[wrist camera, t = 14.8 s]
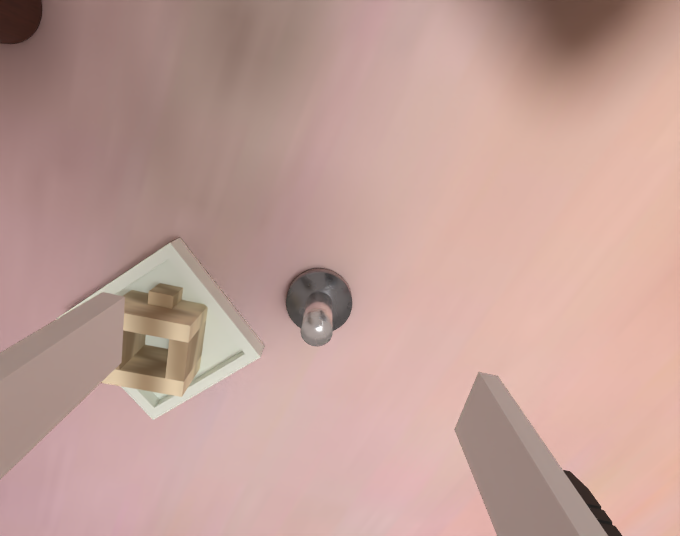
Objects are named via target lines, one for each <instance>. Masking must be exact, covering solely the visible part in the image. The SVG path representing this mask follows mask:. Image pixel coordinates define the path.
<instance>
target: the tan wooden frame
mask: <svg viewBox="0 0 680 536" xmlns="http://www.w3.org/2000/svg"><path fill="white" fill-rule="evenodd" d="M182 293H183V288H182V287H177V286H172V285H167V284H162V283H159V284H158V285H157V286H155V287H154V288H152V289H151V290H150V291H149V293H145V292H140V291H135V290H131V291H129V292H128V293H126V294H125V295H123V296H124V297H125V304H124V324H123V343H122V362H121V364H120V365H119V366H118V367H117V368H116V369H114V370H113V371H112V372H111V373H110V374H109V375H108V376H107V377H106V378H105V379H104V380H103V381H102V382H101V383H105V384H111V385H117V386H122V387H128V388H134V389H139V390H145V391H151V392H157V393H162V394H168V395H174V396H179V397H182V396H183V395H184V393H185V391H186V390H187V388H188V387H189V385H190V383H191V382H192V380H193V379H194V377H195V376H196V374H197V372H198V371H199V369H200V363H201V355H202V348H203V340H204V333H205V325H206V318H207V311H208V308H207V306H206V305H205V304H200V303H195V302H190V301H185V300H182ZM146 335H150V336H156V337H161V338H166V339H169V347H168V349H166V348H161V347H155V346H150V345H145V339H146Z"/></svg>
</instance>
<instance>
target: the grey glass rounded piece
mask: <svg viewBox="0 0 680 536" xmlns="http://www.w3.org/2000/svg"><path fill="white" fill-rule="evenodd" d="M286 307H287V311H288V314H289V316H290V318H291V319H292V321H293V322H294V323H295V324H296V325H297V326H298V327H300V328H301V336H302V338H303V340H304V341H305V342H306V343H307V344H309V345H312V346H322V345H324V344H326V343H327V342H329V340H330V339H331V337H332V331H334V330H336V329H337V328H339V327H340V326H342V325H343V324H344V323H345V322H346V320H347V319H348V317H349V315H350V313H351V309H352V297H351V291H350V288H349V286H348V284H347V282H346V281H345V280H344V279H343V278H342V277H341V276H340V275H339V274H337V273H336V272H334V271H332V270H328V269H323V268H315V269H310V270H307V271H305V272H303V273H301V274H300V275H299V276H297V277H296V278H295V280H294V281H293V282H292V284H291V286H290V288H289V291H288V294H287V299H286Z"/></svg>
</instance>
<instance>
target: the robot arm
mask: <svg viewBox="0 0 680 536" xmlns="http://www.w3.org/2000/svg"><path fill="white" fill-rule="evenodd" d="M124 304H125V297H124V296H120V295H115V294H110V293H105V292H102V293H100V294H98V295H97V296H95V297H93V298H92V299H90V300H88V301H87V302H85V303H83V304H81V305H80V306H78V307H76V308H75V309H73V310H71V311H70V312H68V313H66V314H65V315H63V316H61V317H60V318H58V319H56V320H54V321H53V322H51V323H49V324H48V325H46V326H44V327H43V328H41V329H39V330H38V331H36V332H34V333H33V334H31V335H29V336H27V337H26V338H24V339H22V340H21V341H19V342H17V343H16V344H14V345H12V346H11V347H9V348H7V349H6V350H4V351H2V352H0V479H1V478H2V477H3V476H4V475H6V474H7V473H8V472H9V471H10V470H11V469H12V468H13V467H14V466H15V465H16V464H17V463H18V462H19V461H20V460H21V459H22V458H23V457H24V456H25V455H26V454H27V453H28V452H29V451H30V450H31V449H33V448H34V447H35V446H36V445H37V444H38V443H39V442H40V441H41V440H42V439H43V438H44V437H45V436H46V435H47V434H48V433H49V432H50V431H51V430H52V429H53V428H54V427H55V426H56V425H57V424H58V423H59V422H61V421H62V420H63V419H64V418H65V417H66V416H67V415H68V414H69V413H70V412H71V411H72V410H73V409H74V408H75V407H76V406H77V405H78V404H79V403H80V402H81V401H82V400H83V399H84V398H85V397H86V396H87V395H89V394H90V393H91V392H92V391H93V390H94V389H95V388H96V387H97V386H98V385H99V384H100V383H101V382H102V381H103V380H104V379H105V378H106V377H107V376H108V375H109V374H110V373H111V372H112V371H113V370H114V369H116V368H117V367H118V366H119V365H120V364H121V362H122V343H123V324H124ZM455 432H456V434H457V437H458V439H459V442H460V444H461V447H462V449H463V452H464V454H465V457H466V459H467V462H468V464H469V467H470V469H471V472H472V474H473V477H474V479H475V482H476V484H477V487H478V489H479V491H480V494H481V496H482V499H483V501H484V504H485V506H486V509H487V511H488V514H489V516H490V519H491V521H492V524H493V526H494V529H495V531H496V534H497V536H622V535H621V533H620V532H619V531H618V529H617V528H616V527H615V526H613V525H612V521H611V520H610V518H609V517H608V516H607V514H606V513H605V511H604V510H601V506H600V504H599V503H598V502H597V500H596V499H595V498H594V496H593V495H592V493H591V492H590V491H589V489H588V488H587V487H586V486H585V485H584V484H583V483H582V482H581V481H580V480H578V479H577V478H576V477H575V476H574V475H573V474H572V473H571V472H570V471H566V470H562V468H561V467H560V465H559V464H558V462H557V461H556V460H555V458H554V457H553V455H552V454H551V452H550V451H549V449H548V448H547V446H546V445H545V444H544V442H543V441H542V439H541V438H540V436H539V435H538V433H537V432H536V431H535V429H534V428H533V426H532V425H531V423H530V422H529V420H528V419H527V417H526V416H525V415H524V413H523V412H522V410H521V409H520V407H519V406H518V404H517V403H516V402H515V400H514V399H513V397H512V396H511V394H510V393H509V391H508V390H507V388H506V387H505V386H504V384H503V383H502V381H501V380H500V378H499V377H498V376H496V375H491V374H487V373H482V372H478V374H477V377H476V379H475V382H474V384H473V386H472V389H471V391H470V394H469V396H468V398H467V401H466V403H465V405H464V408H463V410H462V413H461V415H460V417H459V420H458V422H457V425H456V427H455Z"/></svg>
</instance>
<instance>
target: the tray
mask: <svg viewBox="0 0 680 536" xmlns="http://www.w3.org/2000/svg"><path fill="white" fill-rule="evenodd" d="M159 283H162V284H167V285H172V286H177V287H182V288H183V293H182V300H185V301H190V302H195V303H200V304H205V305H206V306H207V308H208V311H207V318H206V325H205V333H204V340H203V348H202V355H201V363H200V369H199V371H198V372H197V374H196V376H195V377H194V379H193V380H192V382H191V383H190V385H189V387H188V388H187V390H186V391H185V393H184V395H183V396H182V397H179V396H174V395H168V394H162V393H157V392H151V391H145V390H139V389H134V388H128V387H122V386H121V387H122V388H123V389H124V390H125V391H126V392H127V393H128V394H129V395H130V396H131V397H132V399H133V400H134V401H135V402H136V403H137V404H138V405H139V406H140V407H141V408H142V409H143V410H144V411H145V412H146V413H147V414H148V415H149V416H150V417H151V418H152V419H153V420H154V419H156V418H158V417H159V416H161V415H163V414H164V413H166V412H168V411H169V410H171V409H173V408H175V407H176V406H178V405H180V404H181V403H183V402H185V401H187V400H188V399H190V398H192V397H193V396H195V395H197V394H198V393H200V392H202V391H204V390H205V389H207V388H209V387H210V386H212V385H214V384H216V383H217V382H219V381H221V380H222V379H224V378H226V377H227V376H229V375H231V374H233V373H234V372H236V371H238V370H239V369H241V368H243V367H245V366H246V365H248V364H250V363H251V362H253V361H255V360H256V359H258V358H260V357H261V354H262V352H263V349H264V345H263V343H262V342H261V341H260V340H259V338H258V337H257V336H256V334H255V333H254V332H253V331H252V329H251V328H250V327H249V325H248V324H247V323H246V322H245V320H244V319H243V318H242V316H241V315H240V314H239V313H238V311H237V310H236V309H235V307H234V306H233V305H232V304H231V302H230V301H229V300H228V298H227V297H226V296H225V295H224V293H223V292H222V291H221V289H220V288H219V287H218V286H217V284H216V283H215V282H214V280H213V279H212V278H211V277H210V275H209V274H208V273H207V271H206V270H205V269H204V268H203V266H202V265H201V264H200V263H199V261H198V260H197V259H196V257H195V256H194V255H193V254H192V252H191V251H190V250H189V248H188V247H187V246H186V245H185V243H184V242H183V241H182V239H181V238H178V239H176V240H174V241H172V242H170V243H169V244H167V245H166V246H164V247H163V248H161V249H160V250H158V251H157V252H155V253H154V254H152V255H151V256H149V257H148V258H146V259H145V260H143V261H142V262H140V263H139V264H137V265H136V266H134V267H133V268H131V269H130V270H128V271H127V272H125V273H124V274H122V275H121V276H119V277H118V278H116V279H115V280H113V281H112V282H110V283H109V284H107V285H106V286H104V287H103V288H101V289H100V290H98V291H97V292H95V293H94V294H92V295H91V296H89V297H88V298H86V299H85V300H83V301H82V302H80V303H79V304H77V305H76V306H74V307H73V308H71V309H70V310H68V311H67V312H65V313H64V314H62V315H61V316H63V315H65V314H66V313H68V312H70V311H71V310H73V309H75V308H76V307H78V306H80V305H81V304H83V303H85V302H87V301H88V300H90V299H92V298H93V297H95V296H97V295H98V294H100V293H102V292H105V293H110V294H115V295H120V296H123V295H125V294H126V293H128V292H129V291H131V290H135V291H140V292H145V293H149V291H150V290H151V289H152V288H154V287H155V286H157V285H158V284H159ZM61 316H59V317H58V318H60V317H61ZM58 318H56V319H58ZM145 345H150V346H155V347H161V348H166V349H168V347H169V339H166V338H161V337H156V336H150V335H146V339H145Z"/></svg>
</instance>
